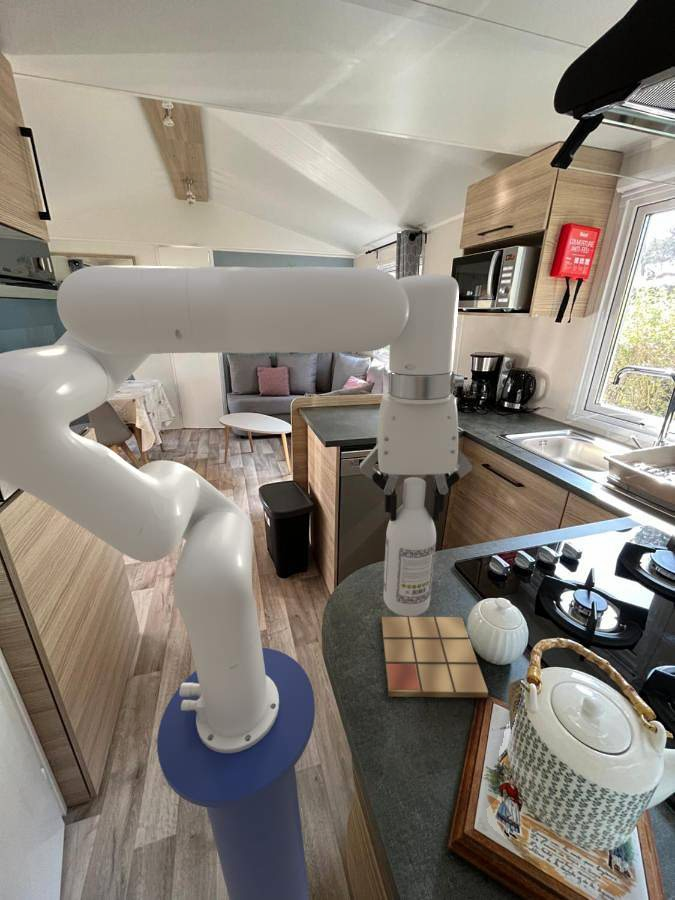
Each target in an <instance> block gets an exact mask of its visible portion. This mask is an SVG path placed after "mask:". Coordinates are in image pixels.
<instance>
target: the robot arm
mask: <svg viewBox="0 0 675 900" xmlns="http://www.w3.org/2000/svg"><path fill="white" fill-rule="evenodd" d="M459 295H460V287H459V283H458V281H457V280H456V278H454V277H453V276H450V275H446V274H416V275H409V276H408V275H407V276H403V277H400V278H396V277H395V276H394V275H392V274H390V273H389V272H387V271H384V270H382V269H379V268H373V267H353V266H352V267H350V266H349V267H347V266H346V267H342V266H341V267H339V266H338V267H337V266H280V267H279V266H278V267H277V266H275V267H274V266H273V267H251V266H174V265H173V266H172V265H171V266H166V265H165V266H163V265H158V266H157V265H109V264H108V265H91V266H90V265H89V266H86V267H82V268H79V269H76V270H75V271H73V272H71V273H69V274H68V275H67V276H66V277H65V278H64V279H63V281H62V282H61V284H60V285H59V288H58V290H57V296H56V309H57V314H58V316H59V319H60V321H61V324H62V325H63V327H64V328H65V330H66V331H65V332H64V333H63V334H62V335H61V336H60V337H59V339H57V341H56V342H55V343H53V344H49V345H43V346H35V347H28V348H21V349H16V350H10V351H5V352H1V353H0V480H2V481H4V482H6V483H8V484H10V485H12V486H14V487H15V488H17V489H19V490H21V491H23V492H25V493H27V494H29V495H30V496H33V497H35V498H36V499H38V500H39V501H42V502H44V503H45V504H47V505H49V506H50V507H52V508H53V509H55V510H56V511H58V512H59V513H60V514H61V515H63V516H65V517H66V518H67V519H69V520H71V521H72V522H73V523H75V524H77V525H78V526H80V527H81V528H83V529H85V530H86V531H88V532H89V533H90V534H92V535H93V536H95V537H97V538H98V539H100V540H101V541H102V542H104V543H105V544H107V545H108V546H111V547H112V548H113V549H115V550H117V551H118V552H120V553H121V554H123V555H124V556H127V557H128V558H130V559H132V560H136V561H139V562H143V563H152V562H158V561H160V560H163V559H165V558H166V557H168V556H169V555H170V554H171V553H172V552H173V551H174V550H175V549H176V548H177V546H178V545H179V543H180V542H181V540H182V539H183V540H185V542H184V544H183V546H182V549H181V552H180V555H179V557H178V560H177V563H176V566H175V570H174V574H173V578H172V579H173V581H172V594H173V599H174V603H175V605H176V607H177V610H178V612H179V614H180V615H181V618H182V620H183V623H184V626H185V629H186V632H187V637H188V641H189V645H190V650H191V652H192V658H193V662H194V666H195V671H197V676H198V681H199V684H197V683H183V682H182V683H181V685H180V686H181V687H180V686H179V687H180V692H179V695H180V697H192V696H199V699H198V700H183V701H182V704H181V710H182V711H190V710H196V712H197V715H196V725H197V730H198V733H199V737H200V738H201V740H202V742H203V743H204V744H205V745H206V746H207V747H208V748H210V749H212V750H214V751H216V752H220V753H235V752H240V751H243V750H245V749H248V748H250V747H251V746H253V745H255V744H256V743H257V742H259V741H260V740H261V739H262V738H263V737H264V736H265V735H266V734H267V733H268V732H269V730H270V729H271V727H272V726H273V724H274V722H275V720H276V717H277V714H278V710H279V695H278V691H277V688H276V686H275V684H274V682H273V681H272V680H271V679H270V678H269V677H268V676H267V675H266V674H265V666H264V659H263V651H262V648H263V646H262V645H263V644H262V638H261V630H260V623H259V615H258V609H257V604H256V599H255V595H254V589H253V575H252V574H253V556H254V552H253V551H254V526H253V523H252V520H251V519H250V517H249V516H248V514H247V513H246V512H245V511H244V510H243V509H242V508H241V507H239V505H237V504H236V503H235V502H234V501H233V500H231V499H230V498H229V497H228V496H226V495H225V494H224V493H223V492H221V491H220V490H219V489H218V488H216V487H215V486H214V485H213V484H211V483H210V482H209V481H208V480H206V479H205V478H204V477H202V476H201V474H199V473H198V472H196V471H195V470H193V469H192V468H190V467H189V466H187V465H185V464H182V463H180V462H177V461H174V460H165V459H161V460H154V461H150V462H147V463H145V464H144V465H141V466H140V467H139V468H138V469H137V468H136V467H135V466H133V465H132V464H130V463H129V462H128V461H126V460H125V459H124V458H122V457H121V456H120V455H119V454H118V453H116V452H115V451H114V450H112V449H111V448H109V447H108V446H106V445H104V444H101V443H100V442H97V441H95V440H93V439H90V438H87V437H86V436H85V437H84V436H82V435H80V434H78V433H76V432H74V431H73V430H72V429H71V427H70V424H71V422H73V421H75V420H77V419H80V418H81V417H82V416H85V415H86V414H88V413H90V412H92V411H94V410H96V409H97V408H99V407H100V406H102V405H104V404H105V403H106V402H107V401H108V400H109V399H110V398H111V397H112V396H113V395H114V394H115V393H116V392H117V391H118V390H119V389H120V388H121V387H122V386H123V385H124V384H125V383H126V382H127V380H128V379H129V378H130V377H131V376H132V375H133V374H134V373H135V372H136V371H137V370H138V369H139V368H140V367H141V366H142V365H143V364H144V362H145V361H147V359H149V357H150V356H151V355H157V354H158V355H161V354H190V353H194V354H195V353H196V354H197V353H201V354H211V353H212V354H214V353H215V354H216V353H217V354H219V353H221V354H222V353H224V354H225V353H226V354H228V353H234V354H235V353H236V354H258V353H298V354H299V353H301V354H302V353H305V354H306V353H309V354H310V353H311V354H312V353H314V354H315V353H363V352H364V353H365V352H375V351H378V350H381V349H384V348H386V347H389V359H388V360H389V361H388V362H389V364H388V393H386V394H382V396H381V399H380V405H379V411H378V418H377V429H376V443H375V444H376V445H375V446H374V447H373V449H372V450H371V451H370V452H369V453H368V454H367V456H366V457H364V458H363V460H362V461H361V462H360V463H359V472H361V473H362V474H363V475H365V476H366V477H367V478H369V479H371V480H372V481H373V483H374V484H375V485H377V486H378V487H379V488H380V489H381V490H382V491H383V492H384V499H383V500H384V502H383V503H384V507H383V508H384V513H388V514H389V521H390V520H391V521H395V520H396V510H397V509H398V508H397V507H398V503H397V502H398V495H397V491H396V485H397V482H398V479H399V477H400V476H419V475H420V476H423V475H424V476H425V475H428V476H430V475H432V478H433V483H432V484H431V486H430V487H429V499H428V500H429V501H428V513H429V514H430V516H431V518H432V520H433V522H438V521H439V519H440V513H443V512H444V503H445V495H446V494H448V492H449V489H450V488H452V487H453V486H454V485H455V484H456V483H457V482H458V481H459V480H460V479H461V478H463V477H465V476H466V475H467V474H468V473H470V472H471V471H473V468H474V466H473V464H472V463H471V462H470V461H469V460H468V459H467V457H466V456H465V455H464V454H463V452H462V451H461V450H460V448H459V418H458V417H459V416H458V406H457V400H456V396H455V395H454V394H453V391H454V390H455V389H456V388H459V387H461V388H463V386H464V384H465V377H464V375H458V374H455V372H454V371H453V369H454V359H455V355H454V354H455V346H456V333H457V321H458V309H459ZM377 463H378V469H376V468H375V467H374V466H375V465H377Z"/></svg>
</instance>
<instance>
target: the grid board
mask: <svg viewBox="0 0 675 900" xmlns="http://www.w3.org/2000/svg"><path fill="white" fill-rule="evenodd" d="M465 625H466V624H465V622H464V621H463V618H462V616H381V630H382V631H381V632H382V638H383V639H382V642H383V650H384V651H383V652H384V662H385V672H386V683H387V685H386V686H387V694H388V695H387V696H388V697H389V698H390V697H392V698H393V697H394V698H395V697H397V698H410V697H411V698H475V699H476V698H477V699H478V698H480V699H485V698H486V699H487V698H489V690H488V688H487V685H486V682H485V679H484V676H483V673H482V670H481V668H480V665H479V662H478V660H477V656H476V654H475V650H474V648H473V645H472V643H471V640H470V637H469V634H468V631H467V629H466V626H465Z"/></svg>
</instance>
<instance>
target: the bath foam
mask: <svg viewBox="0 0 675 900" xmlns="http://www.w3.org/2000/svg"><path fill="white" fill-rule="evenodd" d="M426 487H427V483H426V481H425V479H422V478H420V477H415V476H413V477H407V478H405V479H404V480H403V489H402V504H401V505H399V507H398V508H397V509H396V520H395V521H391V520H390V519H389V522H388V524H387V527H386V532H385V549H384V551H385V552H384V553H385V554H384V568H383V569H384V570H383V571H384V572H383V596H382V597H383V601H384V604H385V605H386V607H387V608H388V609H389V610H390V611H391V612H392V613H395V614H396V615H400V616H401V617H407V616H409V617H418V616H420V615H422V614H424V613H425V612H426V611H428V609H429V607H430V602H431V594H432V585H433V576H434V567H435V556H436V546H437V531H436V525H435V523H434V522H435V521H434V520H433V519H432V517H431V514H430V512H429V510H427V508H426V507H425V502H426V501H425V499H426V489H427V488H426Z"/></svg>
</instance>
